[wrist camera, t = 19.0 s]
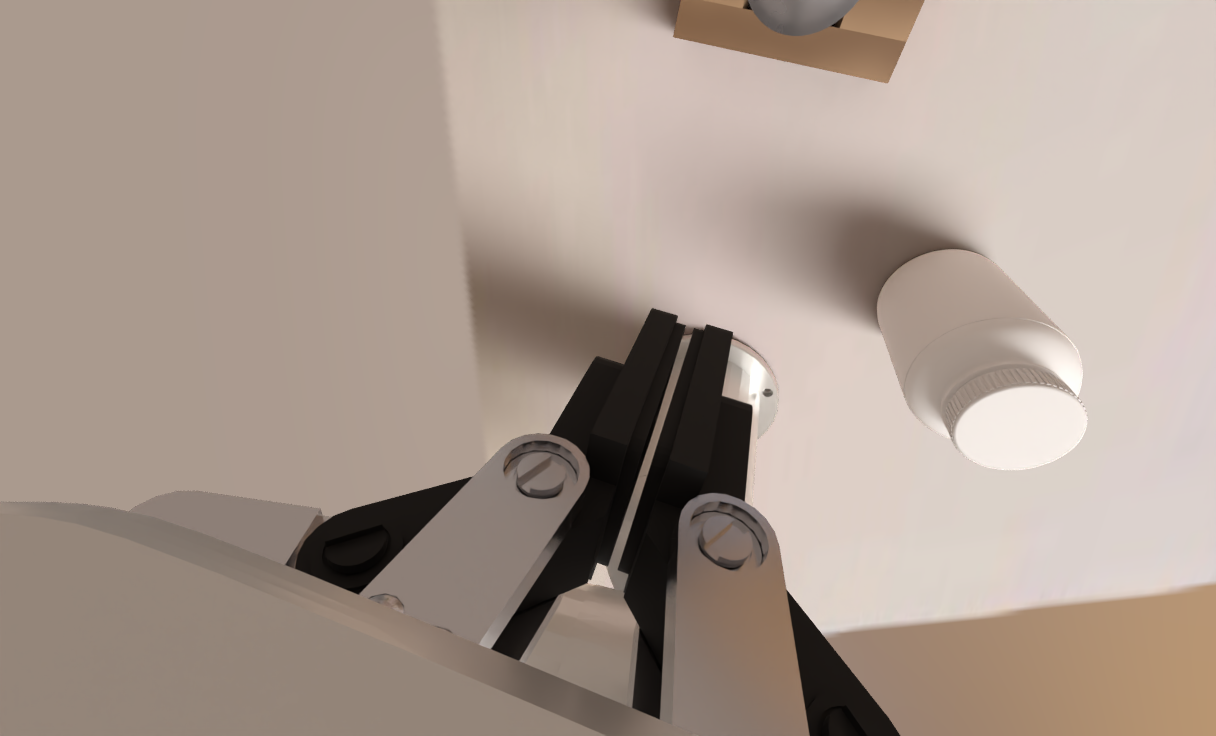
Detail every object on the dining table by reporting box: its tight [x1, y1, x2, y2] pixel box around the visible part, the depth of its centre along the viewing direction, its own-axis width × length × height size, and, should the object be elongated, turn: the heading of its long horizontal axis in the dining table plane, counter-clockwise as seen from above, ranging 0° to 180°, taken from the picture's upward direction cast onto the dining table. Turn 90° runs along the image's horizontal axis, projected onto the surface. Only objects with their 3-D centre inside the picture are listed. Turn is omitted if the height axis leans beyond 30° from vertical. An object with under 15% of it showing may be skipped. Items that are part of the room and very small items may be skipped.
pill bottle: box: [877, 249, 1088, 470], centre depth 29 cm, size 8×8×15 cm
